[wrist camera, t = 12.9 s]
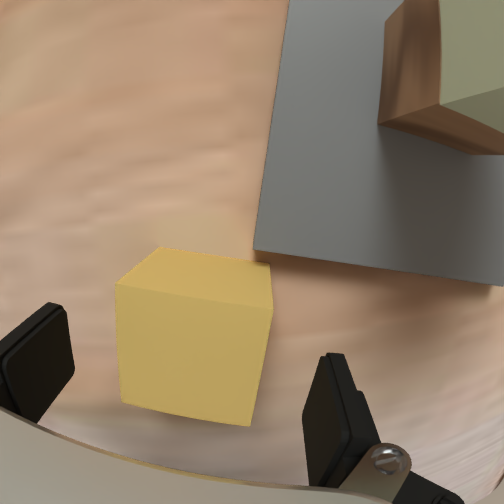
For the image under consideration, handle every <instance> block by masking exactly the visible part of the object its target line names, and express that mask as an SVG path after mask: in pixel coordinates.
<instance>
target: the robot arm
mask: <svg viewBox="0 0 504 504" xmlns="http://www.w3.org/2000/svg"><path fill="white" fill-rule="evenodd" d="M74 371H75V365H74V360H73V354H72V348H71V341H70V334H69V327H68V319H67V313H66V311H65V310H64V308H63V306H61V305H58V304H55V303H51V302H48V303H46V304H45V305H44V306H42V307H41V308H40V309H39V310H37V311H36V312H35V313H34V314H32V315H31V316H30V317H29V318H27V319H26V320H25V321H24V322H22V323H21V324H20V325H19V326H17V327H16V328H15V329H14V330H13V331H11V332H10V333H9V334H8V335H7V336H5V337H4V338H3V339H2V340H1V341H0V504H464V501H463V500H462V499H461V498H460V497H459V496H458V495H456V494H455V493H453V492H451V491H449V490H447V489H445V488H443V487H441V486H439V485H437V484H435V483H433V482H431V481H429V480H427V479H425V478H423V477H421V476H419V475H418V474H416V473H414V472H412V471H410V469H411V466H412V462H411V458H410V456H409V454H408V453H407V452H406V451H405V450H404V449H402V448H401V447H399V446H397V445H394V444H391V443H381V441H380V438H379V435H378V432H377V430H376V427H375V424H374V421H373V418H372V415H371V413H370V410H369V407H368V404H367V402H366V399H365V396H364V394H363V392H362V391H357V389H356V386H355V384H354V381H353V378H352V375H351V372H350V370H349V367H348V364H347V361H346V359H345V356H344V354H339V353H327V354H326V356H321V357H320V360H319V363H318V366H317V369H316V373H315V376H314V379H313V382H312V385H311V388H310V391H309V394H308V398H307V401H306V404H305V406H304V409H303V413H302V424H303V433H304V442H305V451H306V460H307V469H308V478H309V486H301V485H286V484H272V483H261V482H252V481H243V480H235V479H227V478H220V477H214V476H207V475H202V474H196V473H191V472H186V471H181V470H176V469H171V468H167V467H163V466H158V465H154V464H150V463H146V462H142V461H139V460H135V459H131V458H128V457H125V456H121V455H118V454H115V453H111V452H108V451H105V450H102V449H99V448H96V447H93V446H90V445H88V444H85V443H82V442H79V441H77V440H74V439H72V438H69V437H66V436H64V435H61V434H59V433H56V432H54V431H52V430H49V429H47V428H45V427H42V426H40V425H38V424H37V423H38V421H39V420H40V419H41V417H42V416H43V415H44V413H45V412H46V410H47V409H48V408H49V406H50V405H51V404H52V402H53V401H54V400H55V398H56V397H57V396H58V394H59V393H60V392H61V390H62V389H63V388H64V387H65V385H66V384H67V383H68V381H69V380H70V379H71V377H72V376H73V374H74Z"/></svg>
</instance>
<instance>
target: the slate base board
mask: <svg viewBox="0 0 504 504" xmlns="http://www.w3.org/2000/svg"><path fill="white" fill-rule="evenodd" d="M403 1H404V0H289V7H288V14H287V20H286V27H285V34H284V40H283V47H282V54H281V61H280V67H279V74H278V81H277V87H276V94H275V101H274V107H273V114H272V121H271V127H270V134H269V141H268V147H267V154H266V161H265V168H264V174H263V181H262V188H261V194H260V201H259V208H258V214H257V221H256V228H255V235H254V241H253V249H254V250H260V251H267V252H274V253H281V254H288V255H294V256H301V257H308V258H315V259H322V260H328V261H335V262H342V263H349V264H355V265H362V266H369V267H376V268H382V269H389V270H396V271H402V272H409V273H416V274H422V275H429V276H436V277H442V278H449V279H456V280H462V281H469V282H476V283H482V284H489V285H495V286H502V287H503V286H504V155H470V154H468V153H465V152H462V151H460V150H457V149H454V148H451V147H449V146H446V145H443V144H440V143H437V142H434V141H431V140H428V139H425V138H422V137H419V136H416V135H412V134H409V133H406V132H402V131H399V130H396V129H392V128H389V127H385V126H381V125H377V119H378V110H379V101H380V90H381V79H382V66H383V50H384V28H385V21H386V20H387V19H388V18H389V17H390V15H391V14H392V13H393V12H394V11H395V10H396V9H397V8H398V7H399V6H400V4H401V3H402V2H403Z"/></svg>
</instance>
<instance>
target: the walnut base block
mask: <svg viewBox="0 0 504 504" xmlns="http://www.w3.org/2000/svg"><path fill="white" fill-rule="evenodd" d="M441 69H442V43H441V16H440V2H439V0H404V1H403V2H402V3H401V4H400V6H399V7H398V8H397V9H396V10H395V11H394V12H393V13H392V14H391V15H390V17H389V18H388V19H387V20H386V21H385V28H384V50H383V66H382V79H381V90H380V101H379V110H378V119H377V125H381V126H385V127H389V128H392V129H396V130H399V131H402V132H406V133H409V134H412V135H416V136H419V137H422V138H425V139H428V140H431V141H434V142H437V143H440V144H443V145H446V146H449V147H451V148H454V149H457V150H460V151H462V152H465V153H468V154H470V155H504V133H502V132H500V131H498V130H496V129H494V128H492V127H490V126H488V125H485V124H483V123H481V122H479V121H477V120H475V119H472V118H470V117H468V116H465V115H463V114H461V113H458V112H456V111H454V110H451V109H449V108H446V107H444V106H441V105H440V96H441Z"/></svg>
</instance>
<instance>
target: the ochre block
mask: <svg viewBox="0 0 504 504" xmlns="http://www.w3.org/2000/svg"><path fill="white" fill-rule="evenodd" d="M273 310H274V308H273V297H272V286H271V275H270V265H269V263H263V262H256V261H249V260H243V259H236V258H229V257H222V256H216V255H209V254H202V253H196V252H189V251H182V250H176V249H169V248H163V247H159V248H158V249H156V250H155V251H154V252H153V253H151V254H150V255H149V256H148V257H146V258H145V259H144V260H143V261H141V262H140V263H139V264H138V265H137V266H135V267H134V268H133V269H132V270H130V271H129V272H128V273H127V274H126V275H124V276H123V277H122V278H121V279H120V280H118V281H117V282H116V283H115V312H116V340H117V357H118V371H119V382H120V393H121V402H123V403H127V404H131V405H135V406H139V407H143V408H147V409H151V410H155V411H160V412H164V413H169V414H174V415H179V416H184V417H189V418H195V419H200V420H206V421H212V422H219V423H226V424H233V425H240V426H249V427H250V424H251V419H252V415H253V410H254V405H255V401H256V396H257V391H258V386H259V381H260V376H261V372H262V367H263V362H264V357H265V352H266V346H267V341H268V336H269V331H270V326H271V321H272V315H273Z"/></svg>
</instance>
